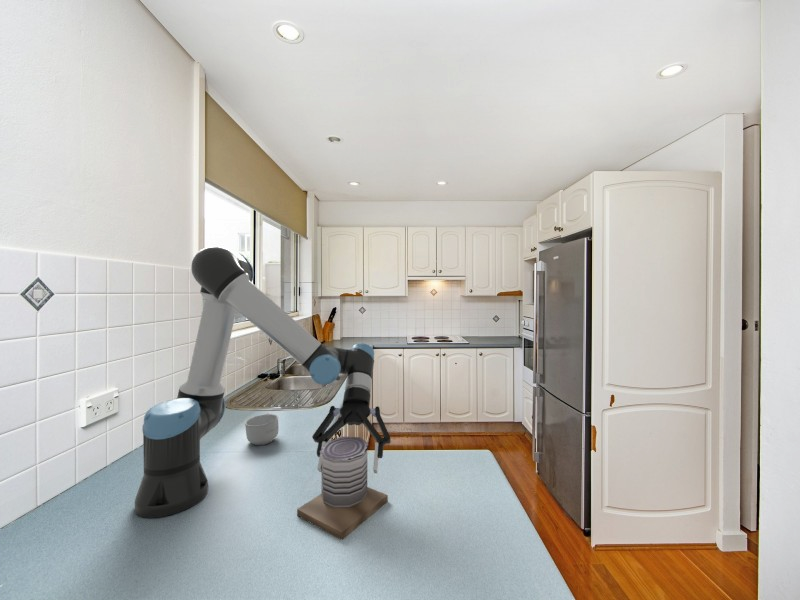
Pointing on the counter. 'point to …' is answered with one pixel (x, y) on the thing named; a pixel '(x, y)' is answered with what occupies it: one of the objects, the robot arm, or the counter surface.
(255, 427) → the teacup
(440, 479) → the counter surface
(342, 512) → the walnut board
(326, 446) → the can
